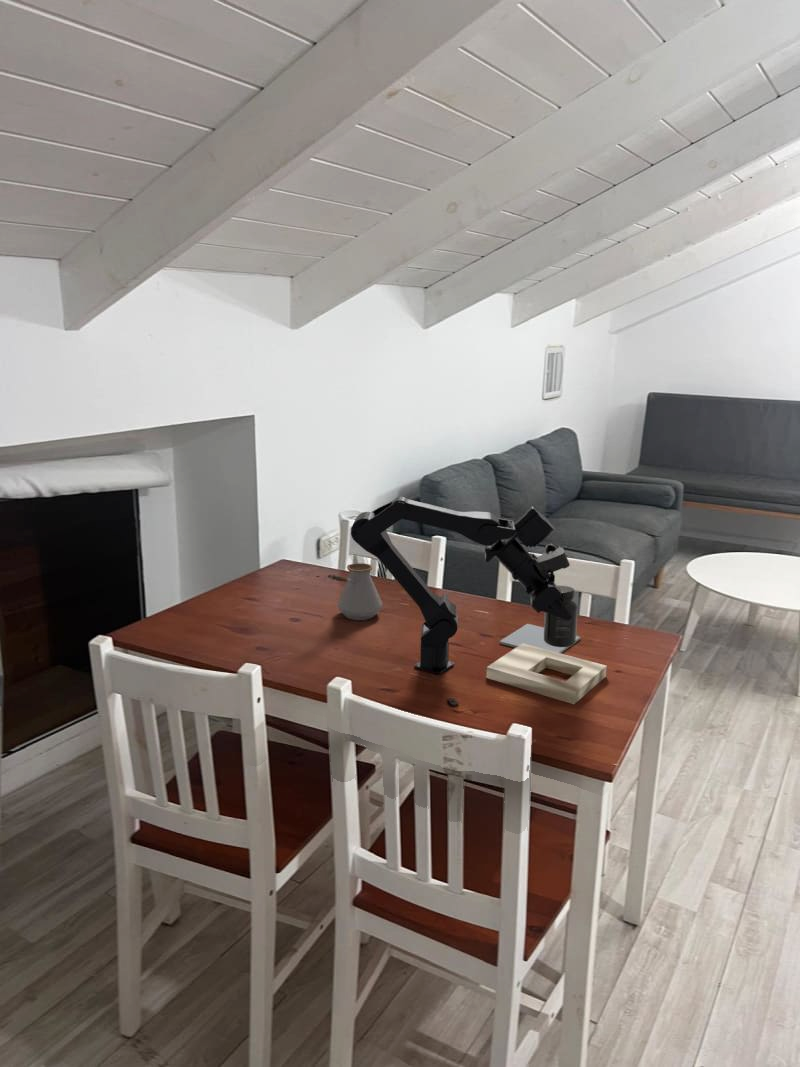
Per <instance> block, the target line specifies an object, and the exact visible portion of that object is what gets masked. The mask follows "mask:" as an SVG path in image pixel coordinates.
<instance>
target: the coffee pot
mask: <svg viewBox="0 0 800 1067" xmlns="http://www.w3.org/2000/svg"><path fill="white" fill-rule="evenodd" d="M346 568H347V569H346V570H348V573H349V575H348V578H346V577H344V576H341V575H335V574H328V575H326V576H325V577H324V579H323V581H324V583H326V584H331V583H332V582H333V580H335V581H338V582H345V585H344V588H343V589H342V593H341V594H340V597H339V599H338V602H337V608H338V610H339V612H340V613H342V614H343V616H345V617H346V619H350V620H355V621H365V620H370V619H372V618H375V616H376V615H377V614H379V612H381V609H382V607H383V601H382V600H381V597H380V594H379V592H378V591H377V588H376V586H375V583H374V580H373V579H372V577H371V571H372V570H373V565H371V564H369V563H363V562H359V563H357V562H356V563H351V564H347V565H346ZM326 578H329V579H331V581H330V582H327V581H326Z"/></svg>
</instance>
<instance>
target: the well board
mask: <svg viewBox="0 0 800 1067" xmlns="http://www.w3.org/2000/svg"><path fill="white" fill-rule="evenodd" d="M607 666H608V665H605V664H603V663H602V664H601V663H599V662H593V661H590V660H587V659H583V658H579V657H575V656H571V655H567V654H563V653H557V652H553V651H549V650H546V649H542V648H538V647H534V646H531V645H527V644H523V643H522V644H521V645H519V646H518V647H516V648H513V649H512V650H511V651H509V652H507V653H506V654H504V655H503V656H501V657H499V658H498V659H497V660H495V661H493V662H492V663H490V664H489V665H488V666H486V679H489V680H491V681H492V680H493V681H495V682H499V683H501V684H502V683H503V684H505V685H508V686H512V687H515V688H519V689H522V690H526V691H528V692H532V693H535V694H538V695H542V696H545V697H548V698H552V699H555V700H558V701H562V702H565V703H568V704H571V705H575V704H577V703H578V702H579V701H580V700H581V699H582V698H583V697H584V696H585V695H587V694H588V693H589V692H590V691H591V690H592V689H594V687H596V686H597V685H598V684H599V683H601V682H602V680H604V679H605V678H606V677H607ZM545 669H550V670H553V671H556V672H560V673H563V674H567V675H571V676H570V677H569V678H568V679H566V680H562V679H559V678H555V677H551V676H548V675H545V674H542V673H541V672H542V671H543V670H545Z"/></svg>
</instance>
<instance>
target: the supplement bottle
mask: <svg viewBox="0 0 800 1067" xmlns="http://www.w3.org/2000/svg"><path fill="white" fill-rule="evenodd" d="M557 586H558V588H560V590H561V595H560V600H561V601H562V603H563V604H564V606H565V607H566V609H567V610H568V612H569V613H570V615H571V616H572V618H571V619H570V620H569V621H567V620H565V619H562V618H560V617H557V616H555V615H552V614H549V613H546V612H544V619H543V620H544V624H543V628H544V641H545V642H546V643H547V644H548V645H551V646H554V647H569V648H570V647H572V646H573V645H575V644H576V643H577V642H576V636H577V627H578V624H577V623H578V614H579V612H578V611H579V605H578V603H577V602H576V600H574V599H575V589H574V588H573V587H571V586H567V585H557ZM575 642H576V643H575Z"/></svg>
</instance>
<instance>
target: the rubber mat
mask: <svg viewBox="0 0 800 1067" xmlns="http://www.w3.org/2000/svg"><path fill="white" fill-rule="evenodd" d="M580 640H581V636H578V635H576V642H575V644H576V643H577V642H579V641H580ZM522 643H523V644H527V645H531V646H534V647H538V648H542V649H546V650H549V651H553V652H557V653H561V654H563V653H564V652H565V651H566V650H567V649H569V648H570V647H554V646H551V645H548V644H547V643H546V642H545V641H544V626H539V625H535V624H531V623H526V624H524V625H523V626H521V627H520V628H518V629H517V630H515V631H514V632H512V633H510V634H508V635H507V636H506V637H504V638H502V639H500V640H499V644H500V645H504V646H508V647H511V648H513V649H515V648H516V647H518V646H519V645H521V644H522Z"/></svg>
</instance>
